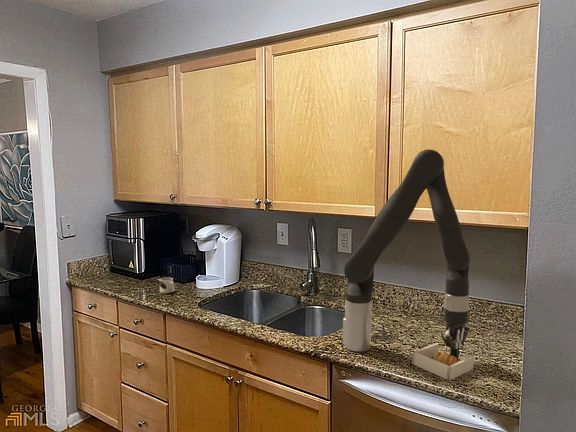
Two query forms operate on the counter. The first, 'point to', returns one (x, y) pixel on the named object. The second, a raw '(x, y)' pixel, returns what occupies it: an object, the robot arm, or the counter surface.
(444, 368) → the bin
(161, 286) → the mug
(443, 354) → the pastry
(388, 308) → the counter surface
